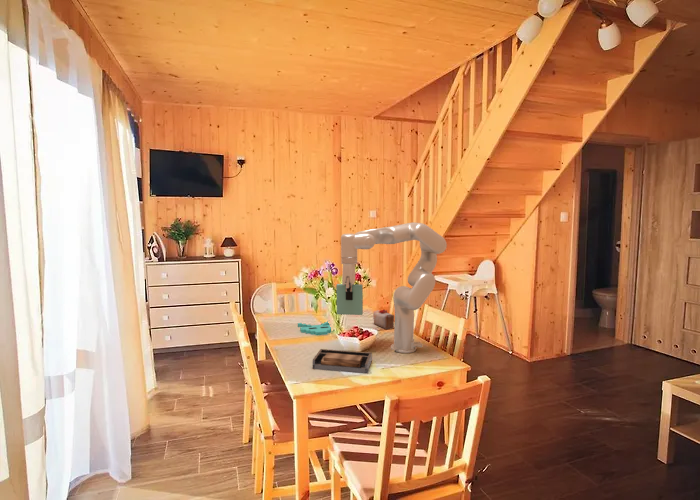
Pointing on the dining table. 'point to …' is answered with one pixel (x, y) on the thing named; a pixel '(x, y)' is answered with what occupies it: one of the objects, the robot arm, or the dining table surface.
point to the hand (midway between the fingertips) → (349, 298)
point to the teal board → (350, 305)
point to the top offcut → (343, 358)
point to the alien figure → (315, 328)
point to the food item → (383, 319)
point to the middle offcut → (338, 363)
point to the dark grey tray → (363, 369)
